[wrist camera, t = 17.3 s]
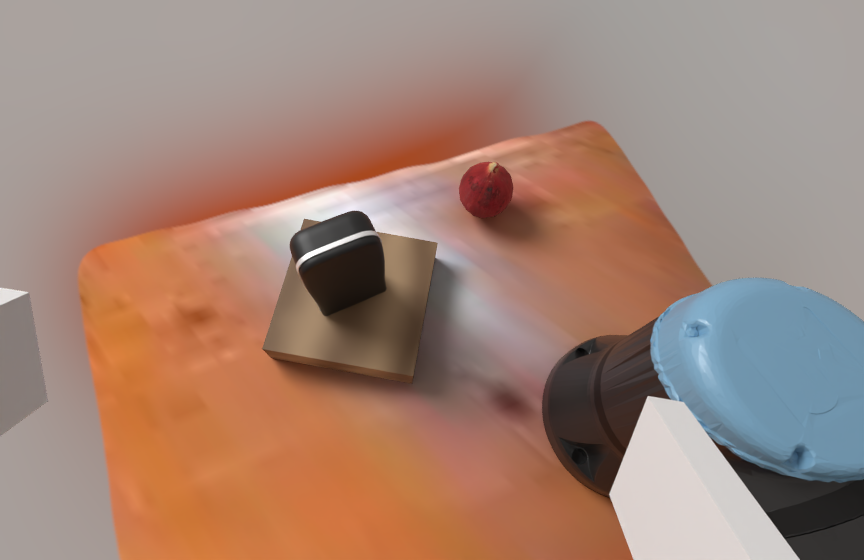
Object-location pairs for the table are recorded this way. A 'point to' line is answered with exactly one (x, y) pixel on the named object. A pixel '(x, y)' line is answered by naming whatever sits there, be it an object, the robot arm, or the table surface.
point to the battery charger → (340, 261)
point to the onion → (486, 189)
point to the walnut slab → (359, 318)
